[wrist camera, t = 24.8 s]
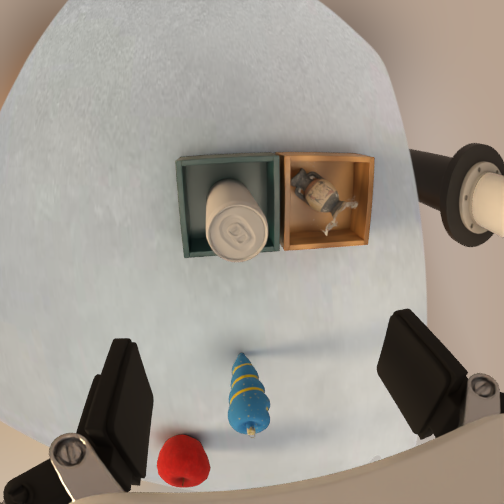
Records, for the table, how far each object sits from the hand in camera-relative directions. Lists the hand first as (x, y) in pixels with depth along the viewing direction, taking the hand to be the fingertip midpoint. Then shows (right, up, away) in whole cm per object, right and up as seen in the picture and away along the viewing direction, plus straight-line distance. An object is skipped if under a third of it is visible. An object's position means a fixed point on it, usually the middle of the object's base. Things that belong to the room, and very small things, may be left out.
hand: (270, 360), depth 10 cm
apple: (-14, -32, +40) cm, 53 cm away
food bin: (+7, +11, +25) cm, 28 cm away
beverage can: (-3, +10, +24) cm, 26 cm away
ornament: (-2, -11, +33) cm, 35 cm away
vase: (+8, +8, +23) cm, 26 cm away
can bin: (-3, +10, +24) cm, 26 cm away
